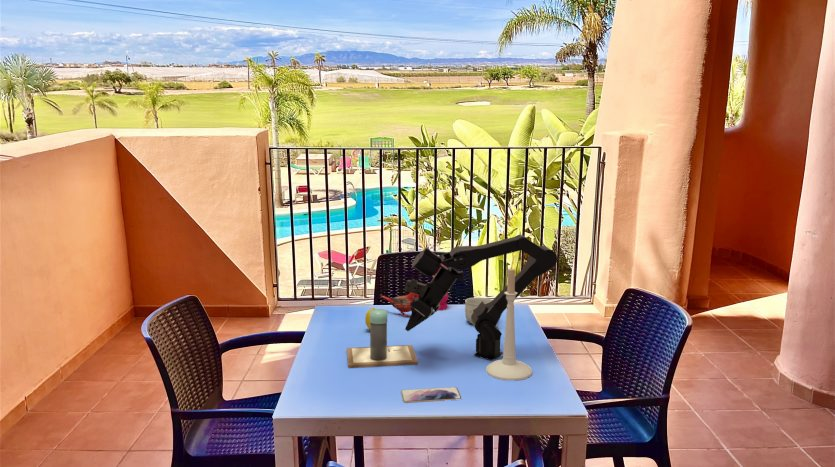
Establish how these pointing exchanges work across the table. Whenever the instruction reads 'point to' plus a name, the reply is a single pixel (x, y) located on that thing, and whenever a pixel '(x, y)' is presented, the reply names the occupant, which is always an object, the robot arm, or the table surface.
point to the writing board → (394, 358)
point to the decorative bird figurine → (402, 302)
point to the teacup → (473, 305)
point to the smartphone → (430, 394)
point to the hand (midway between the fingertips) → (409, 328)
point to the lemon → (368, 318)
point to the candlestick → (509, 343)
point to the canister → (378, 334)
